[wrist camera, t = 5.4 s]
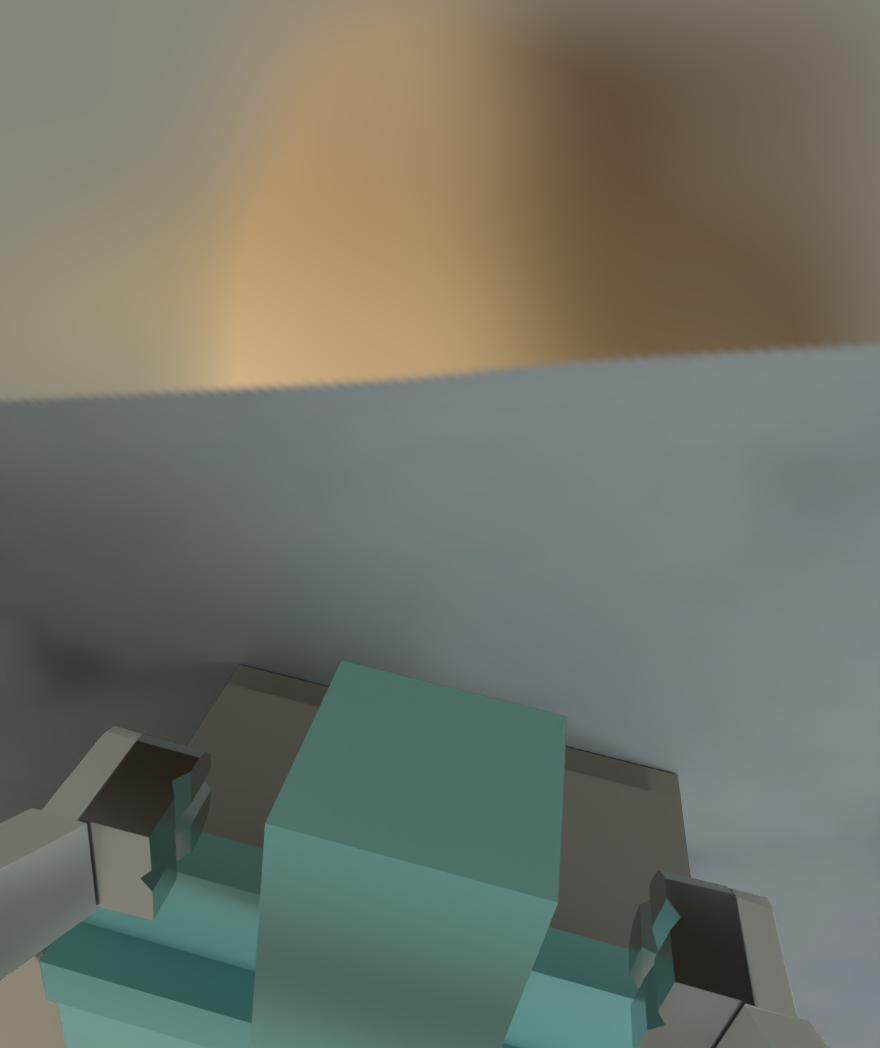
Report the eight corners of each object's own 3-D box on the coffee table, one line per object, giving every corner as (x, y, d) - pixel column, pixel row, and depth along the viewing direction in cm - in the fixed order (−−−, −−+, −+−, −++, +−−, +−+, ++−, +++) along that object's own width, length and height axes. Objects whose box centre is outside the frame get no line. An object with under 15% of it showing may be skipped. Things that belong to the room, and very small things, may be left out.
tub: (528, 1102, 28) (510, 1369, 22) (228, 1014, 29) (132, 1247, 23) (677, 775, 19) (715, 1070, 13) (239, 664, 20) (90, 894, 14)
